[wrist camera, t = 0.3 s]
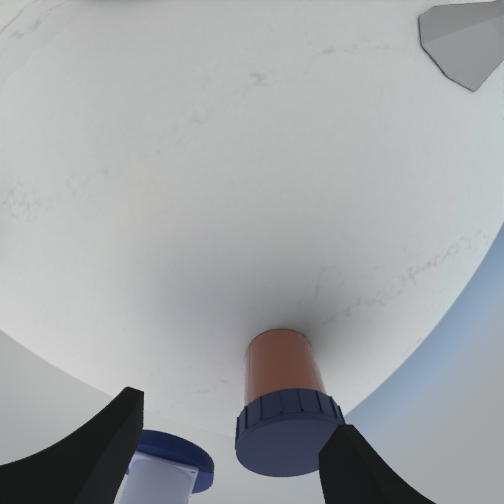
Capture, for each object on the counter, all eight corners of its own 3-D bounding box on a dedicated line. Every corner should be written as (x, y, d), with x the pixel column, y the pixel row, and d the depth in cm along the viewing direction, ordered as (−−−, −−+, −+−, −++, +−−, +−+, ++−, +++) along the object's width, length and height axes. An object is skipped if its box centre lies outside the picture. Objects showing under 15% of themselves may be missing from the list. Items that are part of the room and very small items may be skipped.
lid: (316, 452, 14) (322, 478, 12) (226, 443, 13) (224, 471, 11) (357, 391, 12) (369, 419, 10) (250, 377, 12) (250, 409, 10)
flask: (477, 108, 14) (576, 95, 4) (406, 46, 13) (497, -13, 4) (488, 51, 12) (565, 25, 3) (425, -5, 12) (492, -58, 2)
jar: (299, 385, 19) (316, 469, 12) (238, 375, 19) (234, 463, 12) (321, 335, 18) (355, 418, 11) (255, 321, 18) (258, 409, 10)
